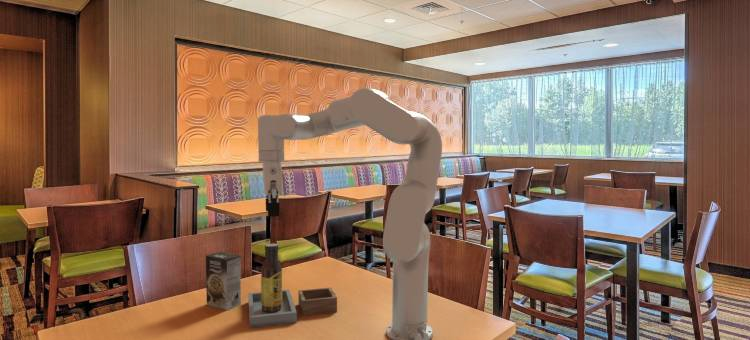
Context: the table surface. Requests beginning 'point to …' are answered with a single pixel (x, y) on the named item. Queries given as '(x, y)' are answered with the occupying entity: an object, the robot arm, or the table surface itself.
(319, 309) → the open wooden box frame
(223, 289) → the coffee box
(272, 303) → the sauce bottle
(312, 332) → the table surface
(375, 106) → the robot arm
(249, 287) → the table surface
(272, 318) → the tray
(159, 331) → the table surface
